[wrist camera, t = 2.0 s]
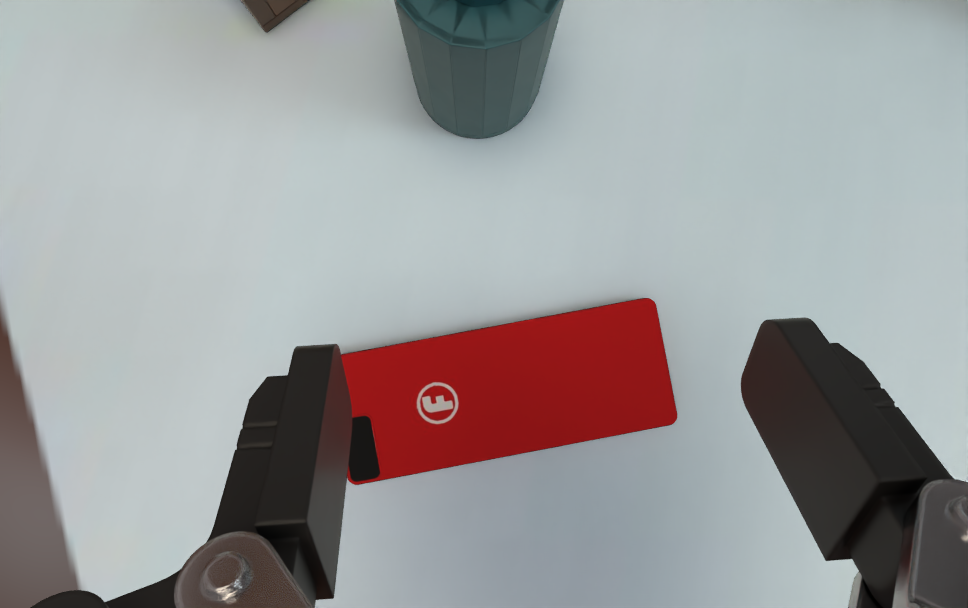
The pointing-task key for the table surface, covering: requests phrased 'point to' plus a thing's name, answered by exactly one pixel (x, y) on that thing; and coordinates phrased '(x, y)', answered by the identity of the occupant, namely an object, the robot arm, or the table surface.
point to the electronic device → (507, 390)
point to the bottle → (478, 59)
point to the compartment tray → (271, 10)
